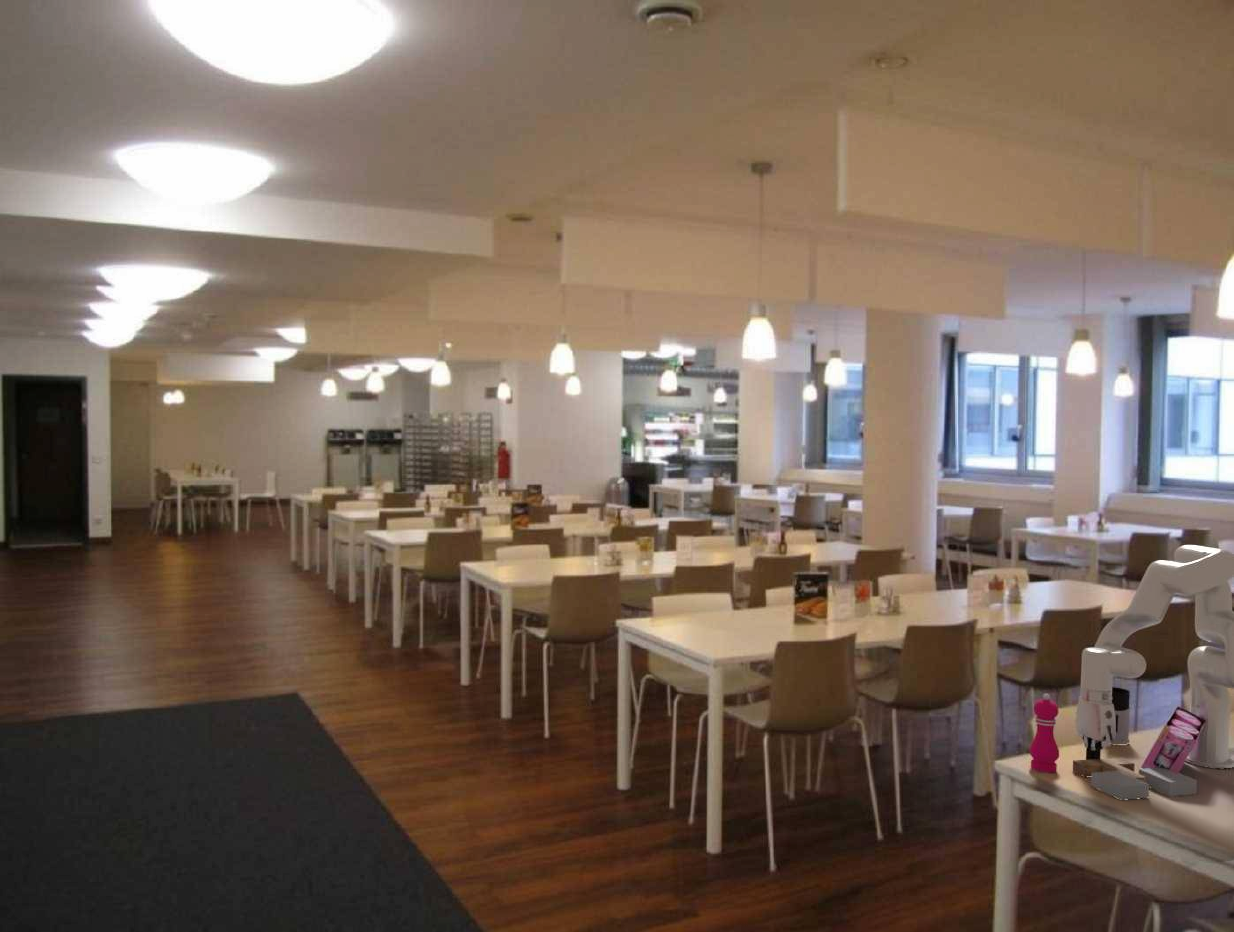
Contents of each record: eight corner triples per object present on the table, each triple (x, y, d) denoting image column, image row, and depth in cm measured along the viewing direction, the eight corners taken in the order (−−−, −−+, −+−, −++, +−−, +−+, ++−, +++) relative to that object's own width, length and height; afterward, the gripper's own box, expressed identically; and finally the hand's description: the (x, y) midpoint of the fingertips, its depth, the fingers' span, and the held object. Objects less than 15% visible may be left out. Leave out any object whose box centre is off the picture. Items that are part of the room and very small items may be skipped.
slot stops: (1163, 780, 254) (1164, 767, 253) (1196, 794, 244) (1196, 780, 244) (1091, 786, 247) (1091, 772, 247) (1121, 800, 238) (1122, 786, 238)
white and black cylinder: (1133, 741, 288) (1135, 690, 287) (1119, 751, 277) (1122, 699, 277) (1101, 734, 294) (1103, 684, 293) (1086, 744, 283) (1089, 693, 283)
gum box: (1170, 787, 250) (1195, 742, 246) (1139, 769, 254) (1163, 725, 251) (1184, 762, 269) (1207, 720, 265) (1154, 746, 273) (1177, 704, 270)
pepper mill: (1061, 774, 256) (1064, 698, 255) (1032, 772, 257) (1035, 696, 257) (1054, 766, 263) (1058, 691, 262) (1026, 763, 264) (1029, 689, 264)
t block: (1121, 769, 262) (1122, 757, 262) (1163, 788, 248) (1163, 776, 248) (1072, 771, 259) (1073, 760, 258) (1112, 791, 244) (1112, 779, 244)
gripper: (1129, 702, 255) (1125, 772, 256) (1087, 687, 270) (1084, 754, 270) (1104, 703, 253) (1101, 774, 254) (1064, 688, 268) (1061, 755, 268)
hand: (1092, 763), depth 262 cm, fingers closed
